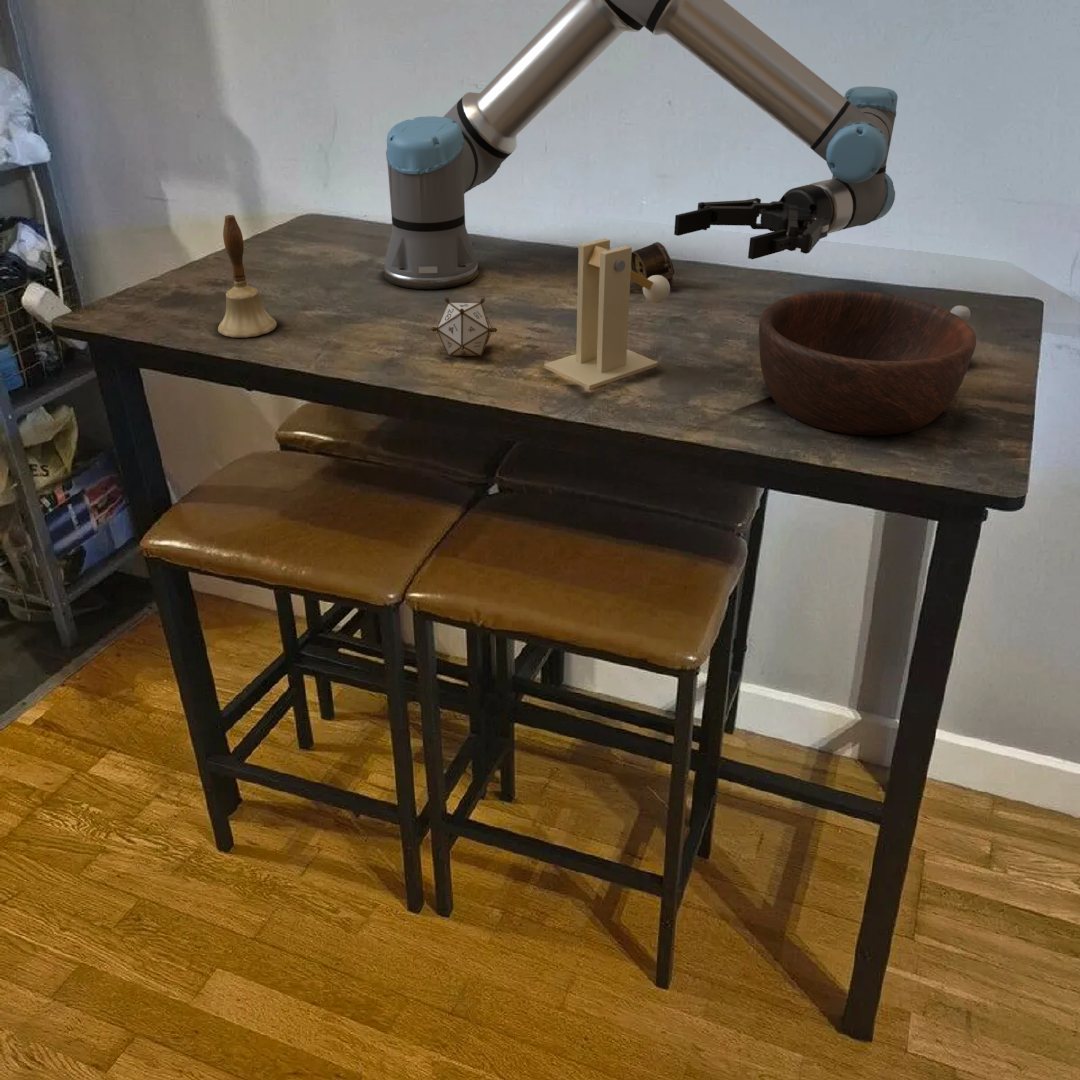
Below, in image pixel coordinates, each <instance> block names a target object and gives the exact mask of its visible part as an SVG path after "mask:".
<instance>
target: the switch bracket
mask: <svg viewBox="0 0 1080 1080" xmlns="http://www.w3.org/2000/svg"><path fill="white" fill-rule="evenodd" d="M595 246H599V247H602V248H605V249H608V250H607V251H603V252H600V270H599V269H597V268H595V267H593V266H592V265H590V264H588V263H589V260H590V258H591V256H592V253H593V251H594V249H595ZM632 252H633V247H632V246H629V245H625V246H620V247H615V248H611V239H608V238H600V239H596V240H592V241H587V242H583V243H580V244H578V254H577V256H578V257H577V296H576V297H577V298H576V299H577V300H576V307H577V308H576V341H575V343H576V345H575V347H576V348H575V354H571V355H568V356H565V357H562V358H558V359H556V360H552V361H549V362H545V363H543V368H544V369H546V370H548V371H550V372H552V373H554V374H556V375H558V376H560V377H562V378H565V379H567V380H569V381H570V382H573V383H574V384H577V385H579V386H581V387H583V388H584V389H588V390H589V391H590V390H592V389H595V388H598V387H599V388H600V387H601V386H604V385H607V384H610V383H612V382H616V381H619V380H621V379H624V378H627V377H631V376H633V375H636V374H639V373H642V372H646V371H648V370H650V369H655V368H657V367H658V365H659V362H658V361H656V360H653V359H651V358H649V357H646V356H644V355H642V354H639V353H637V352H634V351H633V350H630V349H628V337H629V318H630V317H629V314H630V297H631V296H630V295H631V292H630V286H631V280H630V277H631V270H632V265H631V256H632Z"/></svg>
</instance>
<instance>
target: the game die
mask: <svg viewBox="0 0 1080 1080" xmlns="http://www.w3.org/2000/svg"><path fill="white" fill-rule="evenodd" d="M444 301H445V303H446V306H445V308H444V311H443V313H442V315H441V317H440V319H439V322H438V323H437V326H433V327H431V328H430V330H431V331H432V332H437V335H438V337H439V339H440V341H441V343H442V346H443V348H444V350H445V352H446V355H447V356H449V357H451V356H455V357H456V356H457V357H458V356H460V357H461V356H462V357H465V356H466V357H481V356H483V354H484V351H485V349H486V347H487V344H488V342H489V339H490V338H491V335H492V333H496V332H498V329H497V328H496V327H492V325H491V322H490V320H489V318H488V315H487V312H486V310H485V307H484V305H483V304H484V303H485V301H486V299H485V297H482V298H481V299H480V300H479V302H473V301H472V302H470V301H469V302H465V301H464V302H463V301H459V302H458V301H450V298H449V297H446V296H444Z"/></svg>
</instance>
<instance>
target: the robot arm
mask: <svg viewBox="0 0 1080 1080" xmlns="http://www.w3.org/2000/svg"><path fill="white" fill-rule="evenodd" d="M643 28H645V29H646V30H648V31H649V32H650V33H652V34H653V35H654V36H660V35H667V36H668V37H670V38H671V39H672V40H674V41H675V42H676V43H678V45H680V46H681V47H682V48H683V49H685V50H686V51H687V52H688V53H690V54H691V55H693V56H694V57H695V58H696V59H698V61H700V62H701V63H703V64H704V65H705V66H706V67H708V68H709V69H710V70H712V71H713V72H714V73H715V74H716V75H718V76H719V77H720V78H721V79H723V80H724V81H726V83H727V84H729V85H730V86H732V87H733V88H734V89H735V90H736V91H738V92H739V93H741V94H742V96H744V97H745V98H747V100H749V101H750V102H752V103H753V104H754V105H756V106H757V107H758V108H759V109H761V110H762V111H763V112H764V113H766V114H767V115H768V116H769V117H771V118H772V119H773V120H774V121H775V122H776V123H778V124H780V126H782V127H783V128H784V129H786V130H787V131H788V132H790V133H791V134H792V135H794V136H795V137H796V138H797V139H798V140H800V141H801V142H802V143H803V144H805V145H806V146H807V147H809V148H810V149H811V150H812V151H813V152H814V153H815V154H816V155H818V156H819V157H820V158H821V159H823V161H825V162H826V165H827V167H828V169H829V171H830V173H831V174H832V177H831V178H829V179H824V180H821V181H816V182H812V183H809V184H806V185H802V186H797V187H792V188H791V189H789V190H787V191H786V192H785V193H783V195H782V196H781V198H780V199H779V200H778V201H777V200H775V201H773V200H772V201H771V202H762V199H761V198H759V197H755V198H749V199H739V200H721V201H700V202H698V203H697V209H696V210H691V211H687V212H683V213H679V214H675V217H674V218H675V219H674V229H673V230H674V231H673V232H674V233H673V235H674V236H677V237H680V236H683V235H686V234H691V233H695V232H699V231H708V229H711V226H744V227H745V226H749V227H750V228H751V229H752V230H768V231H769V232H766V233H762V234H759V235H755V236H751V237H749V244H748V252H747V259H749V260H755V259H759V258H762V257H765V256H770V255H773V254H778V253H781V252H784V251H785V250H787V251H789V252H793V251H796V250H797V249H800V253H802V254H810V252H812V250H813V249H814V247H815V246H816V245H817V243H818V242H819V241H820V240H822V239H823V238H826V237H828V235H829V234H833V233H836V232H839V231H842V230H843V231H844V230H847V229H851V228H855V227H858V226H859V227H861V226H866V225H868V224H870V223H872V222H875V221H877V220H879V219H882V218H883V217H884V216H886V215H887V214H888V213H889V212H890V210H891V209H892V208H893V205H894V203H895V200H896V190H895V186H894V182H893V179H892V178H891V177H890V175H889V174H888V173H886V172H887V161H888V158H889V157H888V156H889V153H890V152H889V151H890V147H891V142H892V138H893V131H894V125H895V121H896V117H897V105H898V98H899V97H898V94H897V91H895V90H893V89H891V88H887V87H881V86H867V85H866V86H865V85H864V86H855V87H854V86H853V87H851V88H849V89H848V90H846V91H845V93H844V96H843V95H842V94H841V93H840V92H839V91H837V90H836V89H835V88H833V87H832V86H831V85H830V84H828V83H827V82H826V81H825V80H823V79H822V77H820V76H818V74H816V73H815V72H814V71H812V70H811V69H810V68H809V67H807V66H806V65H805V64H804V63H803V62H801V61H800V60H799V59H797V58H796V57H795V56H794V55H792V54H791V53H790V52H789V51H788V50H787V49H785V48H784V47H783V46H782V45H780V44H779V43H778V42H776V41H775V40H774V39H773V38H771V37H770V36H769V35H768V34H767V33H765V32H764V31H763V30H762V29H760V28H759V27H758V26H756V24H754V23H753V22H751V21H750V20H749V19H748V18H747V17H746V16H744V15H743V14H742V13H740V12H739V11H738V10H736V9H735V7H733V6H732V5H731V4H729V3H728V2H727V1H725V0H569V1H568V2H567V3H566V4H565V5H564V6H563V7H562V8H561V9H560V10H559V11H558V12H556V14H555V15H554V16H553V17H552V18H551V19H550V20H549V21H548V22H547V23H546V24H545V26H544V27H543V28H542V29H541V30H540V31H538V33H536V35H535V36H534V37H533V38H532V39H531V40H530V41H529V42H528V43H527V44H526V45H525V46H524V47H523V48H522V49H521V50H520V51H519V52H518V53H517V55H515V56H514V57H513V58H512V59H511V60H510V62H509V63H508V64H506V66H504V67H503V68H502V70H501V71H500V72H499V73H498V74H497V75H496V76H495V77H494V78H492V80H491V81H490V82H489V83H488V84H487V85H486V86H485V88H483V89H482V90H481V91H480V92H471V91H469V92H466V93H465V94H464V95H463V96H462V97H461V98H459V100H458V101H457V102H456V103H455V104H454V105H453V106H452V107H451V108H450V109H449V110H448V111H447V112H446V114H444V115H443V116H436V115H427V116H418V117H414V118H413V119H405V120H402V121H400V122H398V123H396V124H395V125H393V126H392V127H391V128H390V129H389V131H388V133H387V135H386V150H385V158H386V162H387V174H388V175H387V176H388V187H389V188H388V189H389V201H390V213H391V225H392V226H391V233H390V237H389V241H388V246H387V250H386V254H385V257H384V262H383V273H384V278H385V279H386V280H387V282H389V283H391V284H393V285H395V286H398V287H403V288H410V289H419V290H438V289H439V290H440V289H448V288H454V287H458V286H461V285H465V284H467V283H469V282H472V281H473V280H476V278H477V277H478V275H479V261H478V259H477V256H476V253H475V250H474V247H473V244H472V241H471V238H470V235H469V232H468V231H467V227H466V206H465V203H466V202H465V194H466V193H468V192H469V191H471V190H472V189H474V188H476V187H477V186H479V185H481V184H484V183H486V182H488V180H490V179H491V178H492V177H493V176H494V175H495V174H496V173H497V172H498V170H499V168H501V165H502V164H503V162H504V161H506V160H507V158H509V157H510V156H511V155H512V154H513V153H514V152H515V151H516V150H517V149H516V148H517V146H518V145H517V143H518V142H517V136H518V135H519V134H520V133H521V132H522V131H523V130H524V129H525V128H526V127H527V126H528V125H529V124H530V122H532V121H533V120H534V119H535V118H536V117H537V116H538V115H540V113H541V112H542V111H543V110H544V109H545V108H546V107H548V106H549V105H550V104H551V103H552V101H554V100H555V99H556V98H557V97H558V96H559V95H560V94H561V93H562V92H563V91H564V90H565V89H566V88H567V87H568V86H569V85H570V84H571V83H573V81H574V80H575V79H576V78H577V77H578V76H580V74H582V72H583V71H584V70H586V69H587V68H588V67H589V66H590V65H591V64H592V63H593V62H594V61H595V60H596V59H597V58H598V57H600V55H601V54H602V53H603V52H604V51H606V49H607V48H609V46H610V45H612V43H613V42H614V41H616V40H617V39H618V37H620V36H621V35H622V34H623V33H624V32H631V33H638V32H640V31H641V30H642V29H643ZM759 217H760V219H759V220H760V222H759V223H757V222H758V218H759Z"/></svg>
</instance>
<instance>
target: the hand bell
mask: <svg viewBox="0 0 1080 1080" xmlns="http://www.w3.org/2000/svg"><path fill="white" fill-rule="evenodd" d="M222 237H223V238H222V239H223V244H224V247H225V250H226V253H227V255H228V258H229V260H230V264H231V270H232V271H231V272H232V279H233V287H232V288H231V289H229V290H227V292H226V293H225V302H226V303H225V313H224V316H223V319H222V321H221V322H219V324H218V327H217V331H218V333H219V334H220V335H221V336H225V337H229V338H233V339H245V338H247V339H248V338H256V337H258V336H263V335H265V334H269V333H271V332H273V331H274V330H275V329H276V328H277V325H278V323H277V321H276V319H274V318H273V316H271V315H270V314H269V313H268V312H267V311H266V310H265V308H264V305H263V304H262V300H261V298H260V295H259V291H258V290H257V289H256V288H255V287H253V286H249V285H248V283H247V280H246V279H247V277H246V275H245V273H246V272H245V269H244V264H243V262H244V261H243V257H244V248H245V247H244V237H243V233H242V230H241V227H240V225H239V223H238V222H237V219H236V216H235V215H234V214H227V215H225V216H224V223H223V230H222Z"/></svg>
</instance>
